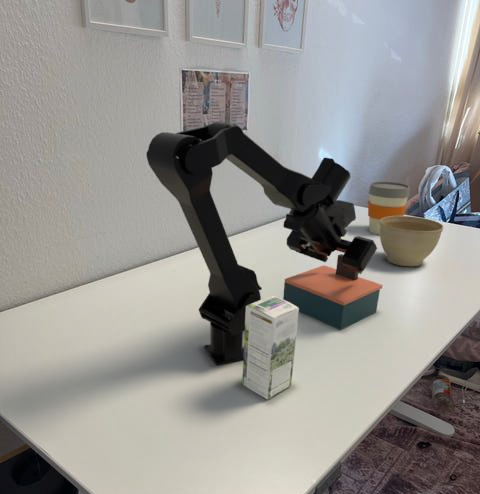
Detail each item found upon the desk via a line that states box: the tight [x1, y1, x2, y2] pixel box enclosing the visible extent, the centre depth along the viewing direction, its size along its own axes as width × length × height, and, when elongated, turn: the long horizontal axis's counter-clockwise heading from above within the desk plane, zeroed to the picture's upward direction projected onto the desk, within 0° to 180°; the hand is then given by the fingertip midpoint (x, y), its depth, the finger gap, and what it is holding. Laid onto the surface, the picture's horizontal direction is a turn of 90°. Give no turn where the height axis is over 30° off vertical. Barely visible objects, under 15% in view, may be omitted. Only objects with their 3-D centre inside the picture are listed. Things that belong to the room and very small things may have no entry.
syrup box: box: [241, 295, 300, 400], centre depth 74 cm, size 6×6×14 cm
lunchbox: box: [282, 282, 381, 331], centre depth 102 cm, size 13×16×5 cm
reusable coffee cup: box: [367, 181, 411, 236], centre depth 155 cm, size 13×12×15 cm
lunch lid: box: [284, 253, 383, 306], centre depth 100 cm, size 13×16×5 cm
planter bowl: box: [379, 215, 445, 267], centre depth 130 cm, size 16×16×11 cm
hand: (343, 265), depth 102 cm, fingers open, 9 cm apart
